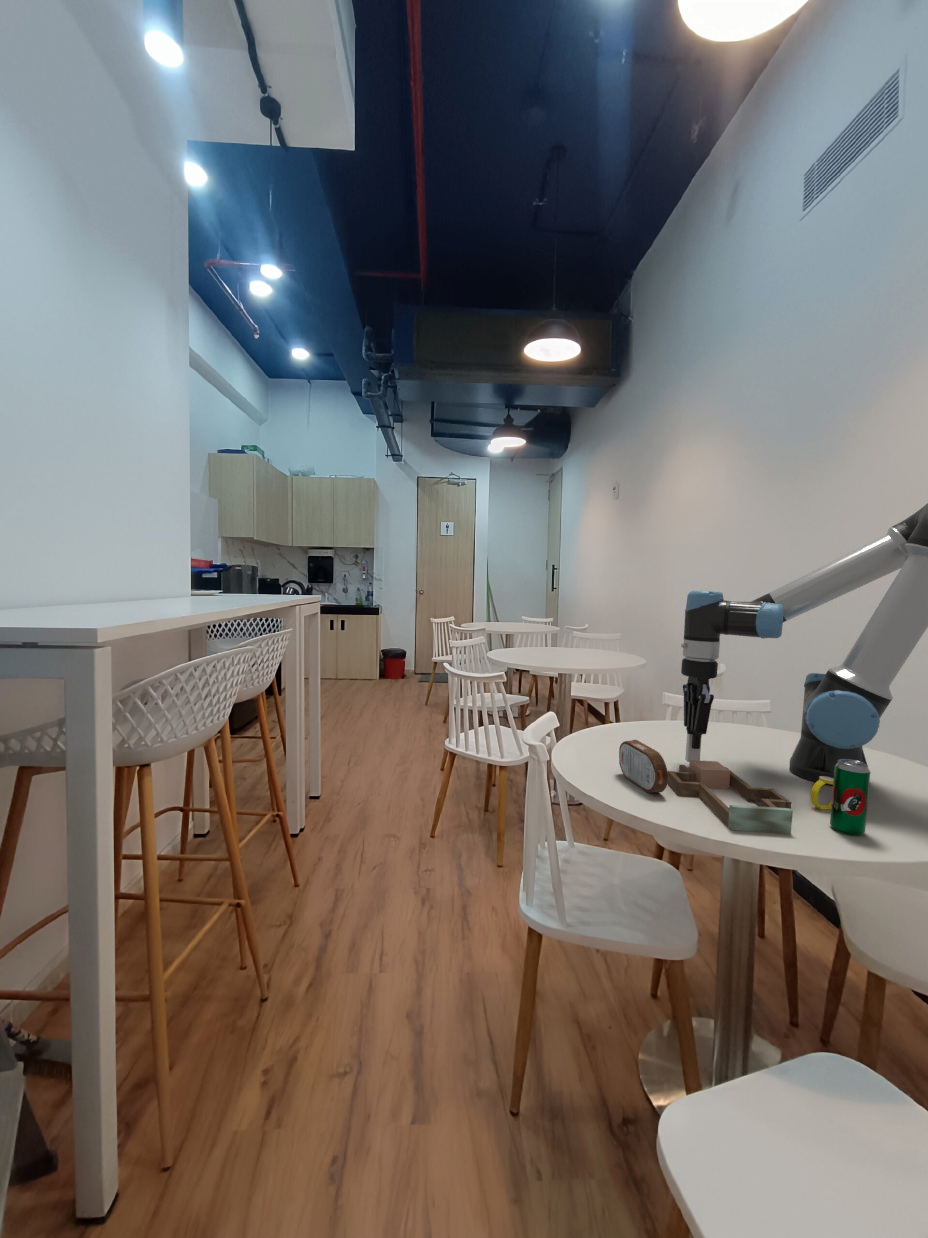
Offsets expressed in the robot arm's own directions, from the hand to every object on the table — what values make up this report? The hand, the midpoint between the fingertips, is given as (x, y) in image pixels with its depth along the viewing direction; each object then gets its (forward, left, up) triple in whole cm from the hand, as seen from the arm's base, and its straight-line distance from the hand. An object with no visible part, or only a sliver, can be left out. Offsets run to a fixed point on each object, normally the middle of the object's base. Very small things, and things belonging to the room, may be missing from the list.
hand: (692, 761), depth 127 cm
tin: (+15, +13, -2) cm, 20 cm away
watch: (-18, +20, -2) cm, 27 cm away
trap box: (0, +20, -2) cm, 20 cm away
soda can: (-16, +30, -2) cm, 34 cm away
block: (0, +10, -2) cm, 10 cm away
